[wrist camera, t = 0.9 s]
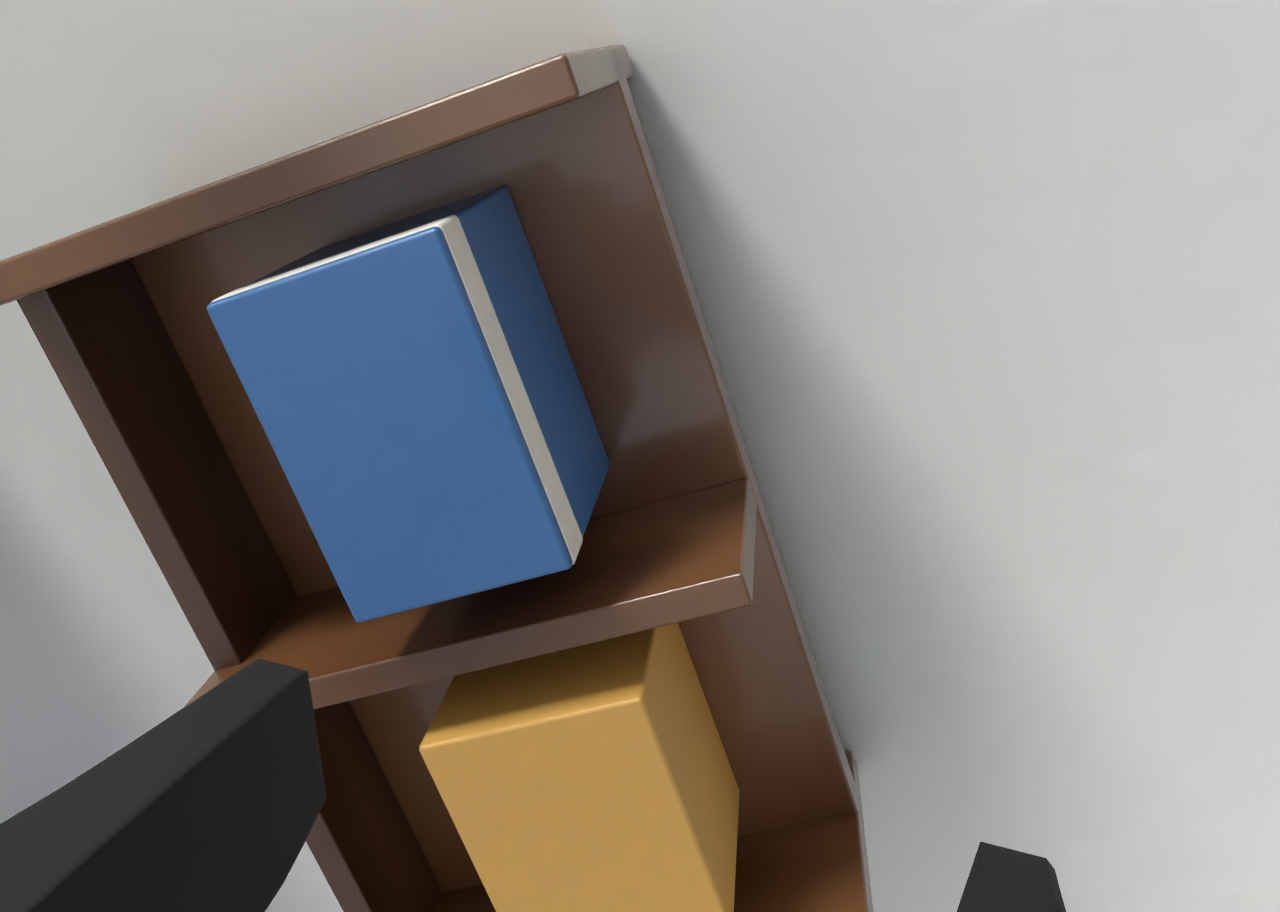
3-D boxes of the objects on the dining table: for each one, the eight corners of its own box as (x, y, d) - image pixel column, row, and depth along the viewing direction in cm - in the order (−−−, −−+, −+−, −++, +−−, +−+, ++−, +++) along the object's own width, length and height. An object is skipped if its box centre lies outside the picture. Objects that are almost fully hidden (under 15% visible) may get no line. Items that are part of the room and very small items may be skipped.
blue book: (432, 515, 25) (354, 627, 20) (316, 248, 23) (200, 305, 18) (613, 465, 24) (573, 570, 20) (508, 182, 22) (437, 225, 17)
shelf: (454, 851, 32) (373, 1061, 26) (149, 217, 26) (-60, 282, 19) (858, 771, 29) (881, 983, 23) (623, 43, 23) (565, 52, 17)
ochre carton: (560, 826, 28) (522, 971, 24) (474, 630, 26) (416, 748, 22) (740, 791, 27) (733, 935, 23) (664, 583, 25) (641, 698, 21)
